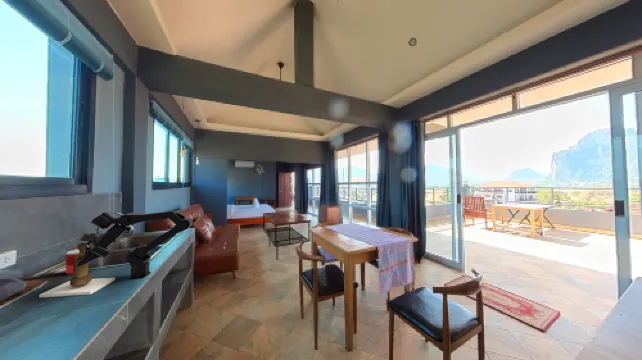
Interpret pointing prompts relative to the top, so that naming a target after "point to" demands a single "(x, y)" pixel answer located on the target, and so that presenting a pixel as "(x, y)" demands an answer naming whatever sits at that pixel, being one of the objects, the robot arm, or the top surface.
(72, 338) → the top surface
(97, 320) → the top surface
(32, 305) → the top surface
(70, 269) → the canned food
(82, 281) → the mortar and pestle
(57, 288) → the tile
